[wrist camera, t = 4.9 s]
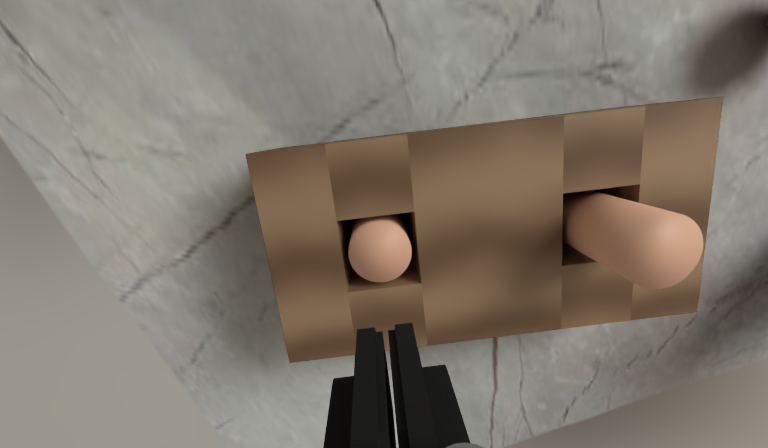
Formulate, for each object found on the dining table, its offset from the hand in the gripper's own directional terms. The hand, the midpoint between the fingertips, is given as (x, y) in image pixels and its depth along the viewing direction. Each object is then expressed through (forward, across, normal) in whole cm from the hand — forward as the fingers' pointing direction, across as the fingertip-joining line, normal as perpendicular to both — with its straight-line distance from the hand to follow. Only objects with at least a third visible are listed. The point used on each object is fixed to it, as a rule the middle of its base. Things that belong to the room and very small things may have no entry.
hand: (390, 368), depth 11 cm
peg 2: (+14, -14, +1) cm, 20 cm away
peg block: (+20, -7, +1) cm, 21 cm away
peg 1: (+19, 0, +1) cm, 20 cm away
